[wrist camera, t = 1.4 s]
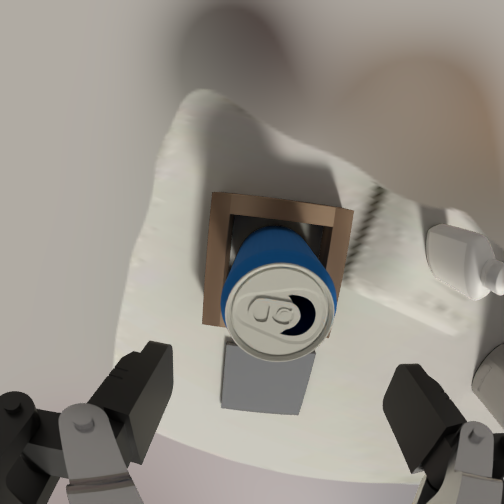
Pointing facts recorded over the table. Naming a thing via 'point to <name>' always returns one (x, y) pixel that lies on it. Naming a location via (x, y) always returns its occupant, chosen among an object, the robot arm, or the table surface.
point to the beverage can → (278, 296)
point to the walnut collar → (229, 204)
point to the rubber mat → (264, 382)
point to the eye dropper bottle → (464, 261)
